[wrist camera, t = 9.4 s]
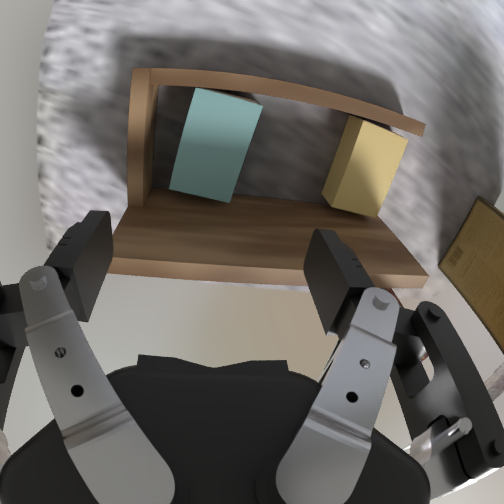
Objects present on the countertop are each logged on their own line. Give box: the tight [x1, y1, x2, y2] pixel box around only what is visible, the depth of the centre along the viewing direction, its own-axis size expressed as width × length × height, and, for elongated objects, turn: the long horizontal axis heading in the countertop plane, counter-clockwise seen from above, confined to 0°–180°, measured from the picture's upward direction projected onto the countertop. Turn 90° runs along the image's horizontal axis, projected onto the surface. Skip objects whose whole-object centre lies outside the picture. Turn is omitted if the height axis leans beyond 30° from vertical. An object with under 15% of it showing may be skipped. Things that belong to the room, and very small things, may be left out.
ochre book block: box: [321, 115, 408, 218], centre depth 28 cm, size 9×6×4 cm, turn 166°
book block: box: [169, 87, 263, 203], centre depth 25 cm, size 9×6×4 cm, turn 161°
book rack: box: [107, 68, 429, 288], centre depth 22 cm, size 13×26×12 cm, turn 81°
